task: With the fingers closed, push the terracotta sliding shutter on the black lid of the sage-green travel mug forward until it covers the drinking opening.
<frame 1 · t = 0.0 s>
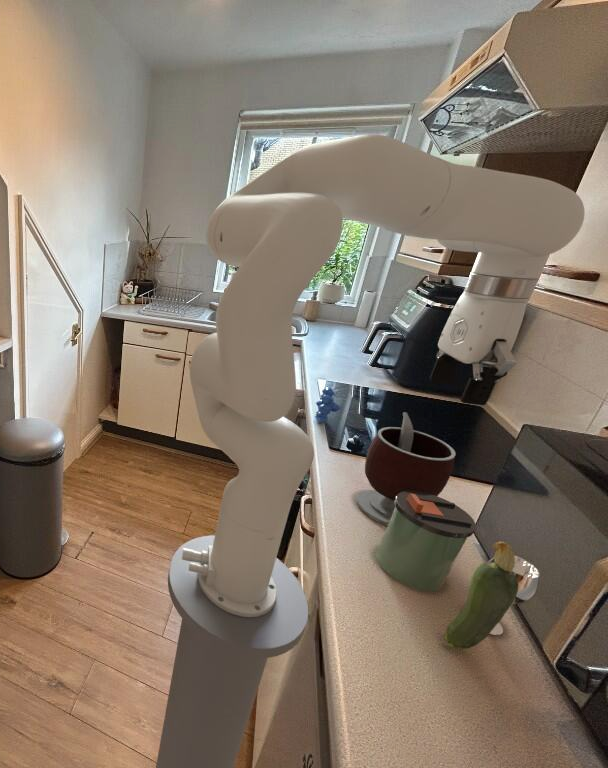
hand: (455, 391, 68), 32 cm above the table, tool pointing down, fingers open, 9 cm apart
vegetable: (455, 651, 59), on the table
wineglass: (483, 622, 64), on the table
grapes: (322, 423, 126), on the table
shutter: (425, 504, 68), point 14 cm above the table, slide at 4.0 cm
travel mug: (408, 567, 73), on the table
mate gourd: (386, 508, 89), on the table
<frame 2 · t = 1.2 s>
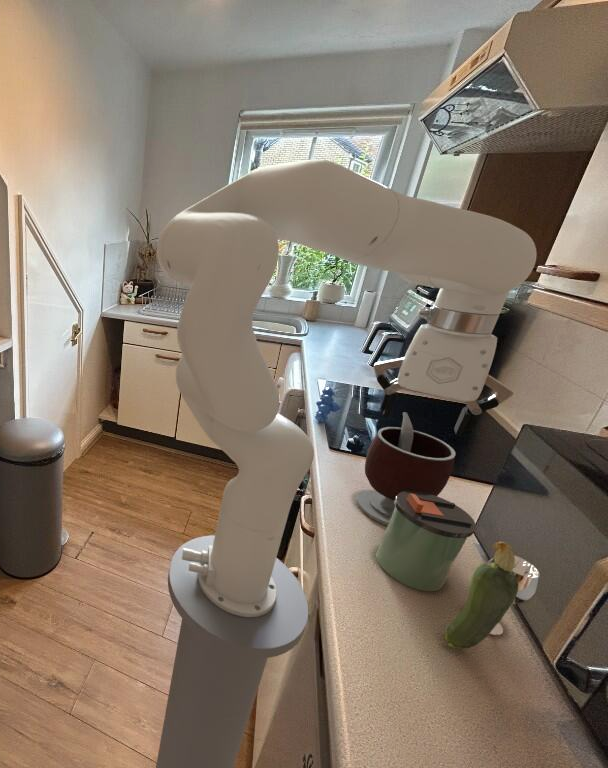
hand: (420, 423, 67), 27 cm above the table, tool pointing down, fingers open, 9 cm apart
nothing on the table moved.
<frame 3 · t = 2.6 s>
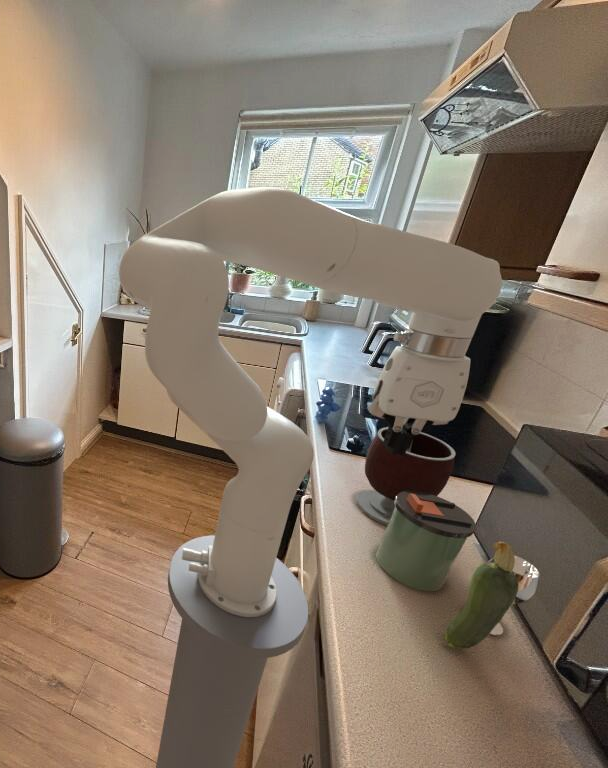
hand: (393, 450, 67), 23 cm above the table, tool pointing down, fingers closed
nothing on the table moved.
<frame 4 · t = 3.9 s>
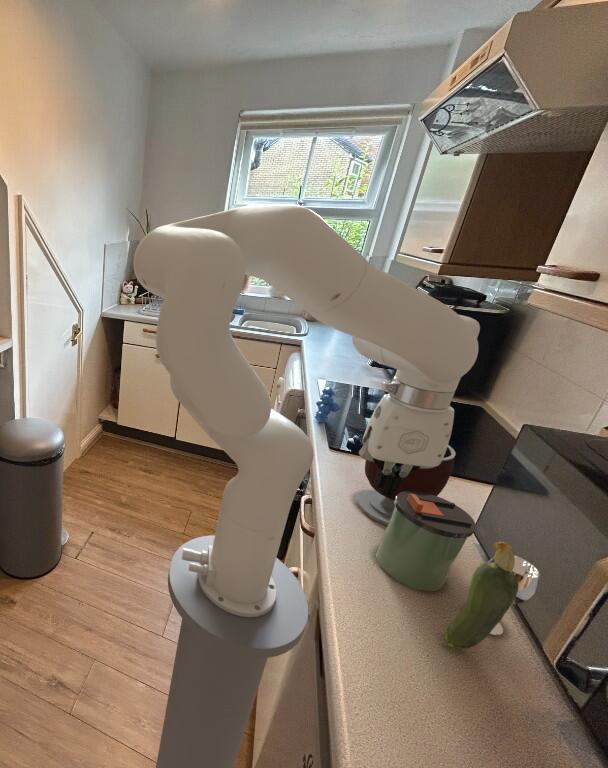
hand: (383, 490, 70), 15 cm above the table, tool pointing down, fingers closed
nothing on the table moved.
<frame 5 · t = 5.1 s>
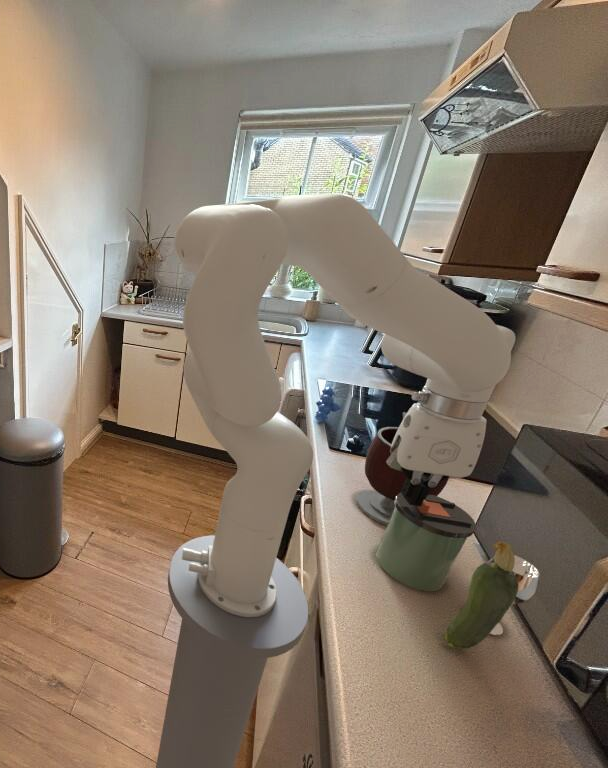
hand: (411, 500, 69), 14 cm above the table, tool pointing down, fingers closed
shutter: (432, 505, 68), point 14 cm above the table, slide at 3.0 cm, touching gripper
everything else where it was.
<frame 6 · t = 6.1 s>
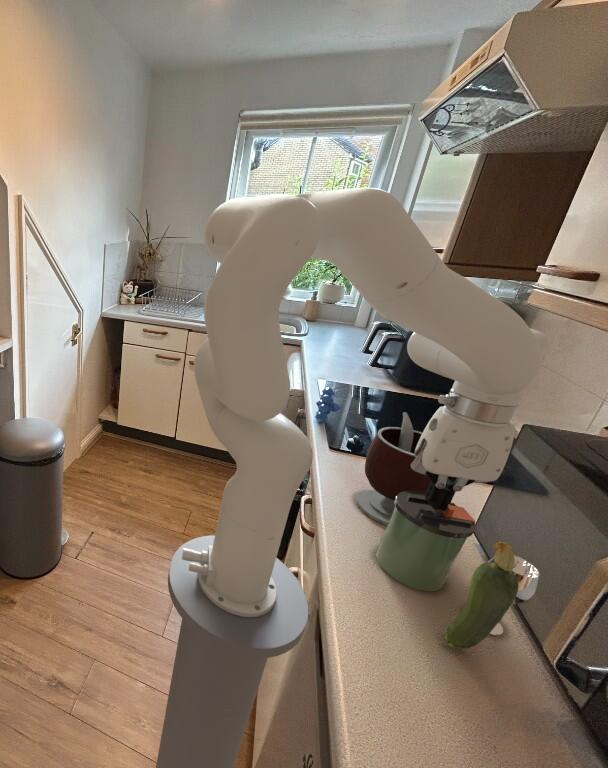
hand: (434, 504, 68), 14 cm above the table, tool pointing down, fingers closed
shutter: (456, 509, 68), point 14 cm above the table, slide at -0.5 cm, touching gripper
everything else where it was.
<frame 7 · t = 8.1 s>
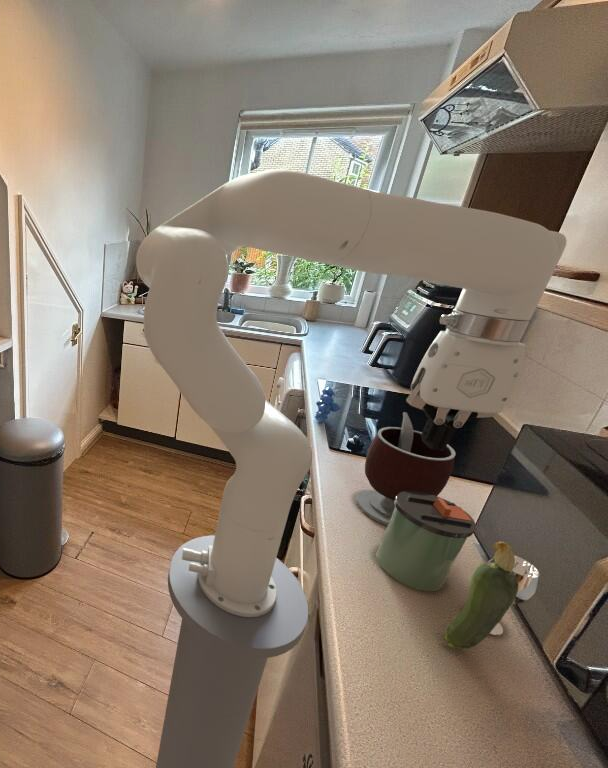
hand: (432, 445, 61), 27 cm above the table, tool pointing down, fingers closed
shutter: (453, 509, 68), point 14 cm above the table, slide at -0.1 cm
everything else where it was.
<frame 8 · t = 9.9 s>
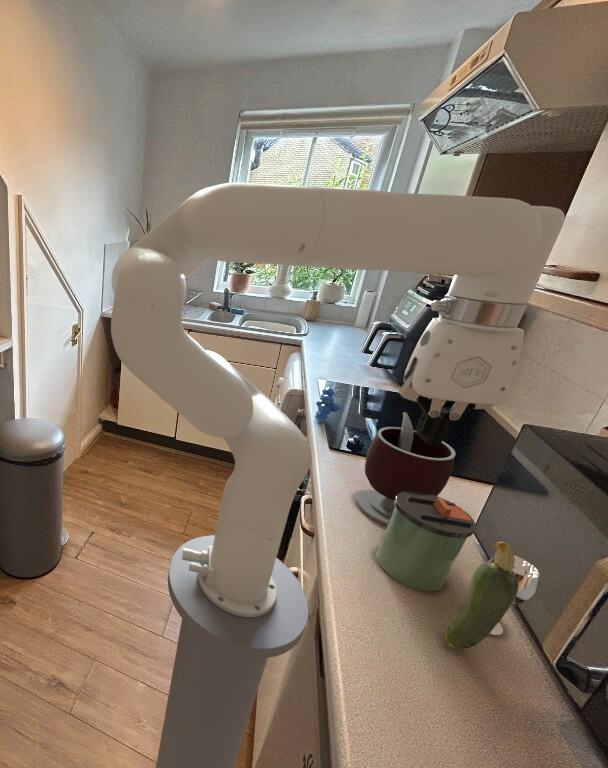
hand: (427, 439, 58), 29 cm above the table, tool pointing down, fingers closed
nothing on the table moved.
at the end: shutter slide at -0.1 cm; vegetable moved 0.2 cm from its start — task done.
